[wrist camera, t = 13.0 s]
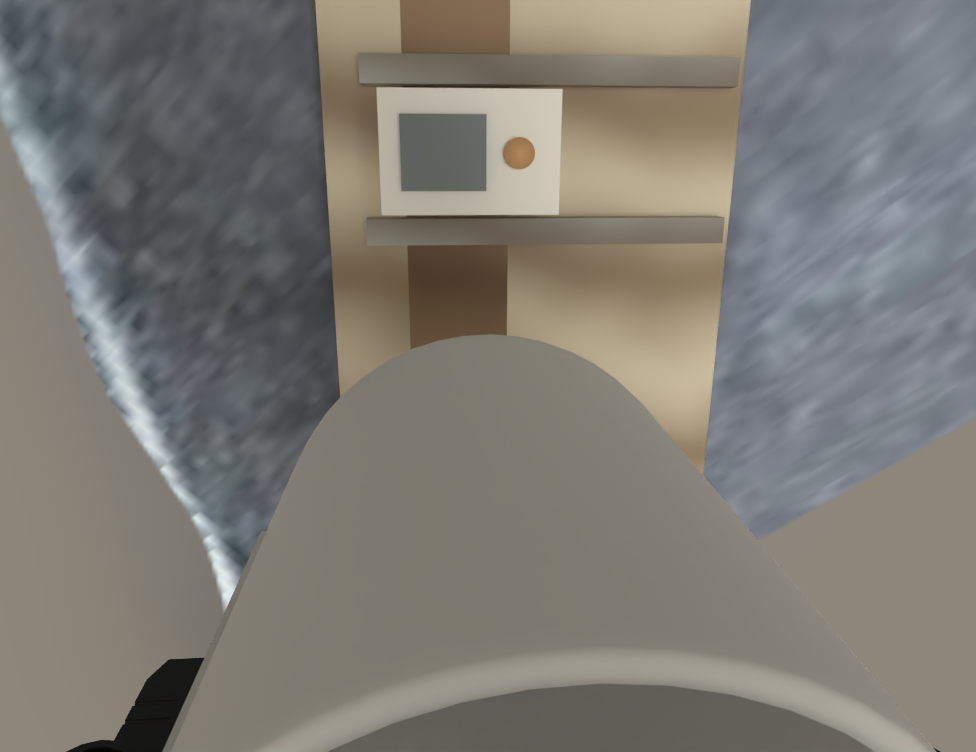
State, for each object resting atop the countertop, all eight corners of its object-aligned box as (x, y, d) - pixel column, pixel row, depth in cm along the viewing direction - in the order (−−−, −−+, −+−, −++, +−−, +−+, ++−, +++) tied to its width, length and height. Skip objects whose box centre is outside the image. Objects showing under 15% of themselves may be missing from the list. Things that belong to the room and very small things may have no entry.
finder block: (384, 96, 27) (375, 86, 23) (544, 98, 27) (564, 88, 23) (388, 206, 28) (380, 216, 24) (541, 206, 28) (559, 215, 24)
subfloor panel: (318, -17, 26) (310, -31, 25) (739, -9, 28) (762, -21, 26) (348, 476, 32) (343, 496, 30) (693, 466, 34) (709, 485, 32)
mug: (309, 771, 19) (161, 1522, 8) (285, 320, 15) (-19, 671, 5) (633, 760, 19) (860, 1439, 9) (683, 326, 16) (1146, 643, 6)
